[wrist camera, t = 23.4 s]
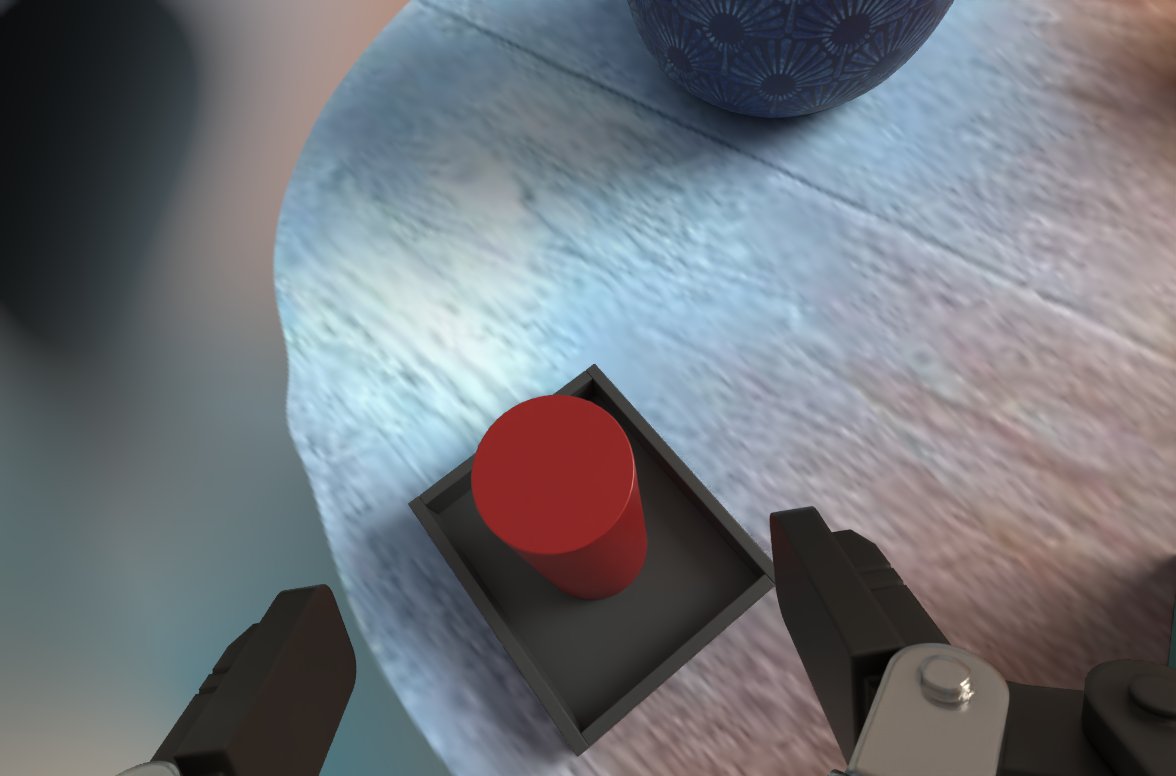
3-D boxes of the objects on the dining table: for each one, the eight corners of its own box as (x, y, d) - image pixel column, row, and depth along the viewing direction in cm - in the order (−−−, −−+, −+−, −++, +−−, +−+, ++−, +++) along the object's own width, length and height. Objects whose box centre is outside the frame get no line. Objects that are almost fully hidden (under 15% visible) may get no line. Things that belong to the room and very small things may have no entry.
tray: (584, 751, 29) (577, 757, 27) (425, 516, 34) (407, 503, 32) (777, 583, 31) (785, 575, 29) (599, 383, 36) (594, 362, 34)
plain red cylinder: (662, 510, 32) (657, 422, 22) (625, 617, 31) (599, 580, 20) (562, 475, 34) (510, 374, 23) (521, 576, 32) (443, 520, 21)
